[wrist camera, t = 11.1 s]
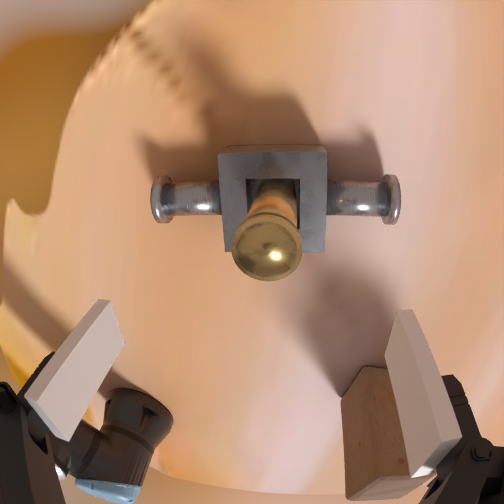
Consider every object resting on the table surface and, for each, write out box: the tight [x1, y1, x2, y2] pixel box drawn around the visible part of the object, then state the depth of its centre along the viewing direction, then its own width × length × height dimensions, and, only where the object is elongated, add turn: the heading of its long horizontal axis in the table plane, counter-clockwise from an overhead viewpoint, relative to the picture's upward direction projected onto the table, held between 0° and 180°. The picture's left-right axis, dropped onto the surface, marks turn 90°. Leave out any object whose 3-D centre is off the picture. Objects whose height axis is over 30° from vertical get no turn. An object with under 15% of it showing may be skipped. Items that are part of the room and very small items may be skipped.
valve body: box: [150, 144, 401, 253], centre depth 32 cm, size 25×10×6 cm, turn 93°
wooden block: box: [341, 366, 437, 501], centre depth 38 cm, size 10×10×20 cm
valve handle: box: [232, 179, 302, 281], centre depth 27 cm, size 5×5×14 cm
